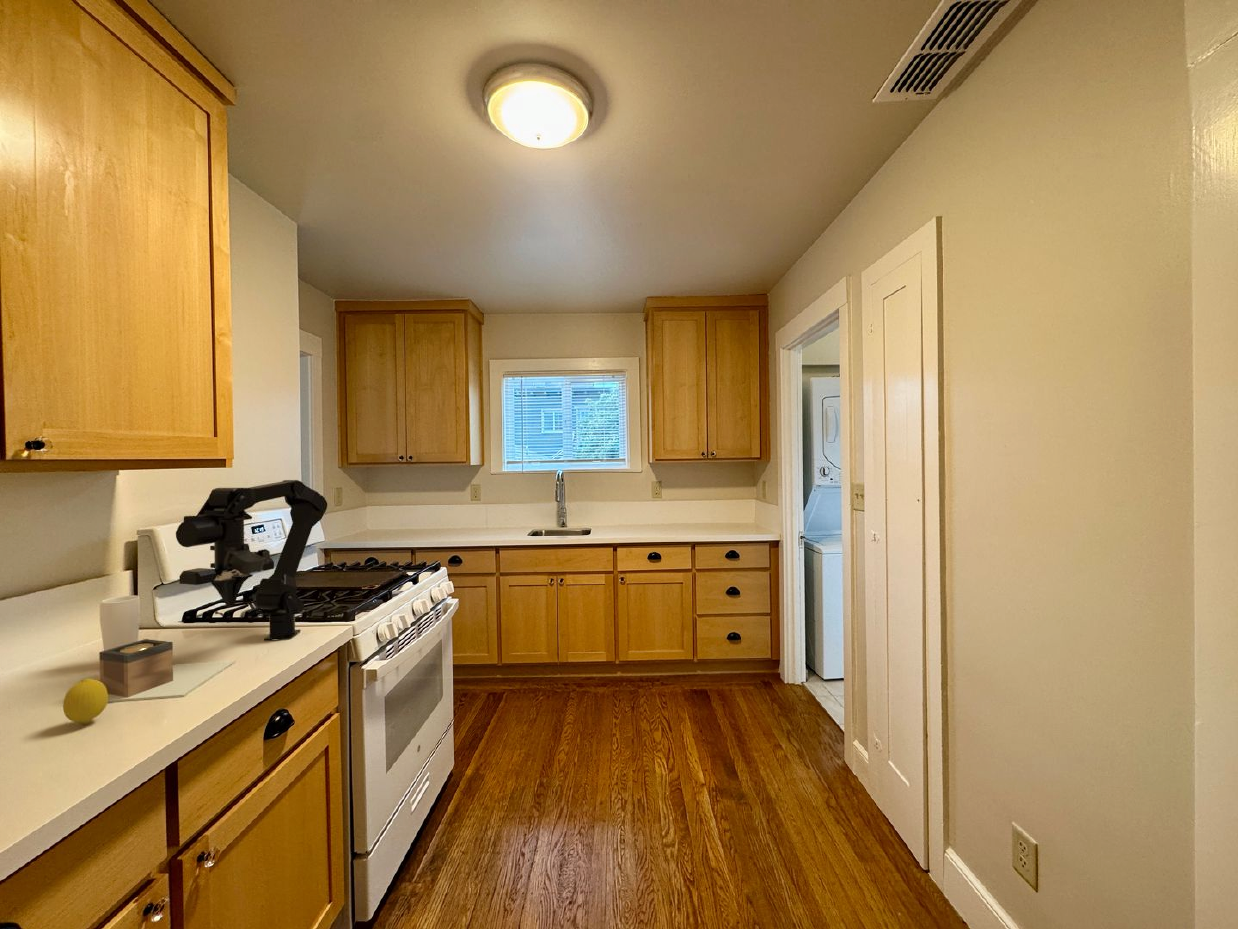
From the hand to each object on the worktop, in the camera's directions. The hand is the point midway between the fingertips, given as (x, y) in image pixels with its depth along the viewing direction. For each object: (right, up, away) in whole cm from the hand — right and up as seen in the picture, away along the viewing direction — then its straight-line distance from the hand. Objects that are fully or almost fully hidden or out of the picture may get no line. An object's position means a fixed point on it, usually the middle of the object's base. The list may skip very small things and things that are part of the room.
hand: (230, 606), depth 124 cm
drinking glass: (-23, -13, -4) cm, 26 cm away
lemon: (-2, -12, -32) cm, 34 cm away
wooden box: (-6, -12, -17) cm, 22 cm away
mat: (-4, -12, -14) cm, 19 cm away
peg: (-6, -12, -17) cm, 22 cm away
